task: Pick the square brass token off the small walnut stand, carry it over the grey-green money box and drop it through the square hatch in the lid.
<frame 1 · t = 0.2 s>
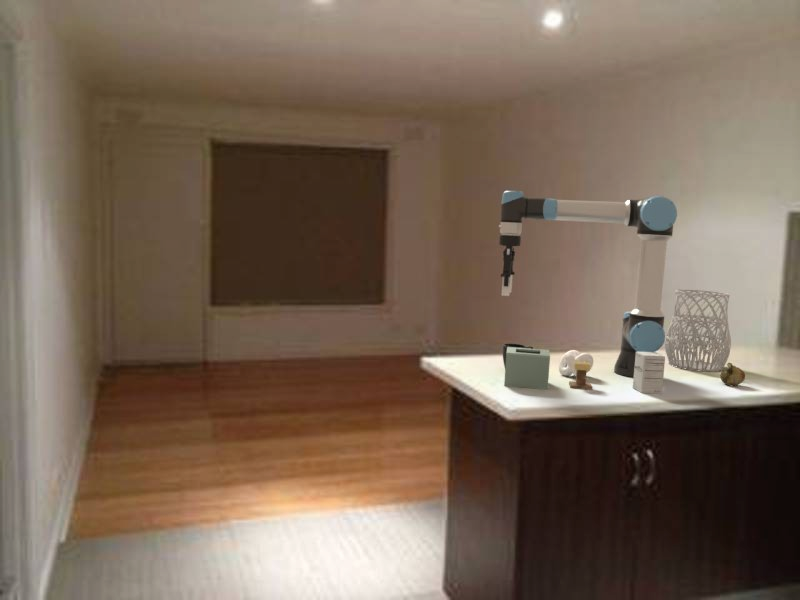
hand: (506, 294, 269), 28 cm above the table, fingers open, 13 cm apart
token stand: (580, 386, 251), on the table
mug: (517, 371, 272), on the table
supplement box: (647, 391, 249), on the table
vase: (695, 367, 300), on the table
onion: (731, 385, 266), on the table
white knot sculpture: (574, 377, 267), on the table
token: (581, 368, 250), point 6 cm above the table, touching token stand
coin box: (525, 383, 251), on the table
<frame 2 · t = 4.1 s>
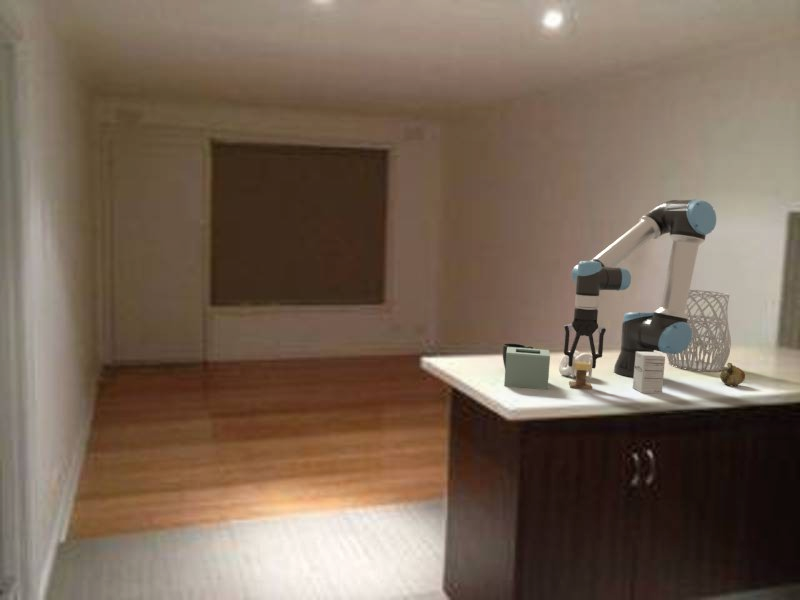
hand: (581, 376, 250), 3 cm above the table, fingers closed on token, 5 cm apart
token: (581, 368, 250), point 6 cm above the table, touching gripper, token stand
everything else where it was.
when the fingers open (12 cm above the table, at t = 7.7 s): token drops 14 cm, resting on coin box.
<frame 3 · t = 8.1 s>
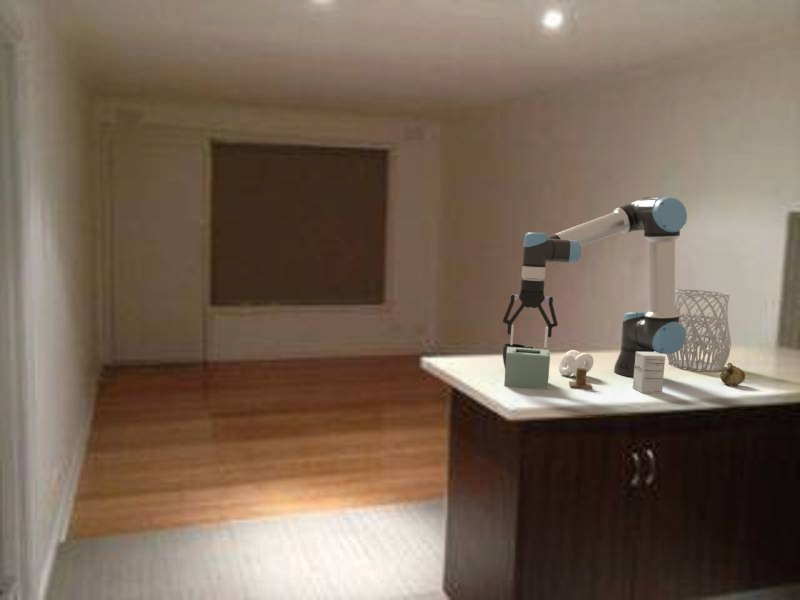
hand: (528, 345, 249), 13 cm above the table, fingers open, 10 cm apart
token: (526, 382, 251), resting on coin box
everything else where it was.
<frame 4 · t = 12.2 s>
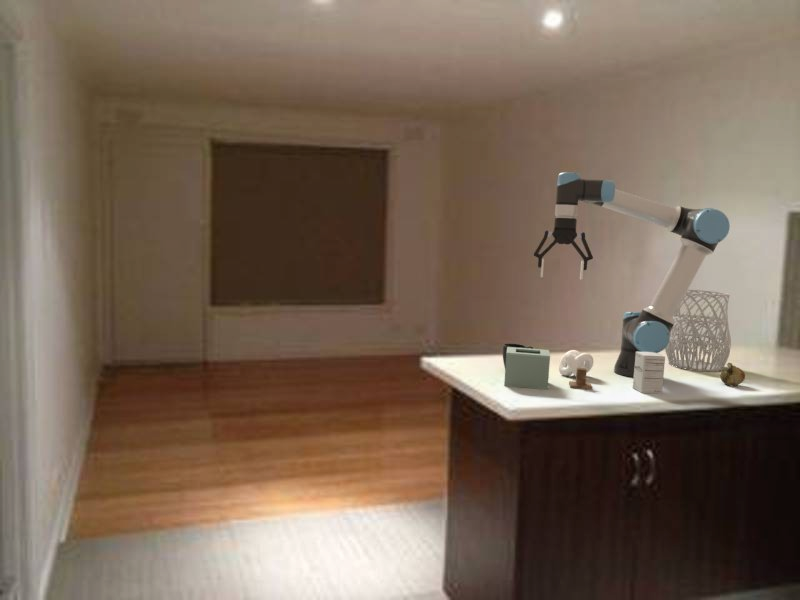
hand: (561, 278, 263), 35 cm above the table, fingers open, 13 cm apart
nothing on the table moved.
at the end: token inside the target area on the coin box (0.0 cm from its centre), point 0.5 cm above the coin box's base; the gripper is holding nothing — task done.
